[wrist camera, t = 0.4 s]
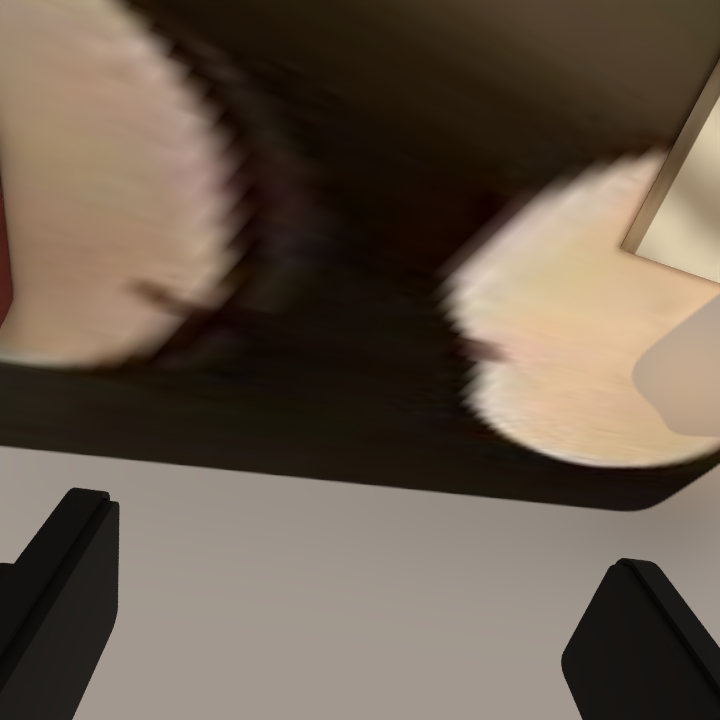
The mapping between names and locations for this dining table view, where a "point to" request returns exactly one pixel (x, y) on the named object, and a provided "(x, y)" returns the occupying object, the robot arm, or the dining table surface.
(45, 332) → the dining table surface
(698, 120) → the board
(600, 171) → the dining table surface
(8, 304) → the plant pot
